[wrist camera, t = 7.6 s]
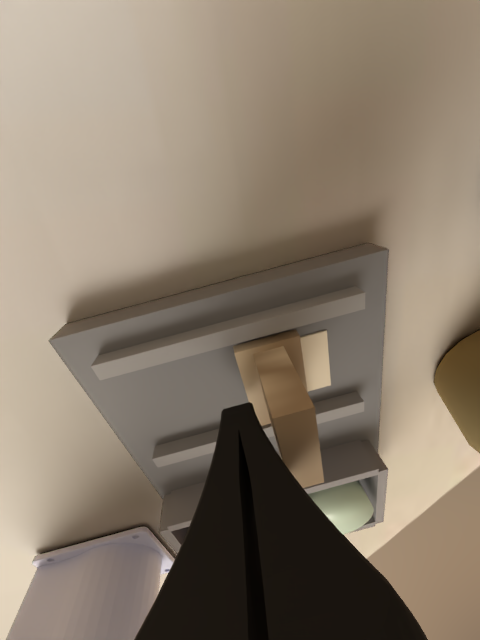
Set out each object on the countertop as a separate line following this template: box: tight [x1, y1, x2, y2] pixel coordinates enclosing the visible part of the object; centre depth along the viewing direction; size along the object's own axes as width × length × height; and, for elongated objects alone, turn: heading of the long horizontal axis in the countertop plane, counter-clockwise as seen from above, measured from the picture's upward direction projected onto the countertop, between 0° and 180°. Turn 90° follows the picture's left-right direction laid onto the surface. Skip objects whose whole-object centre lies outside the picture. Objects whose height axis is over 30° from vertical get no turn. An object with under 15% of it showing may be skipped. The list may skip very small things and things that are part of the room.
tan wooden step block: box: [233, 329, 324, 488], centre depth 11 cm, size 3×5×4 cm, turn 13°
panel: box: [49, 243, 389, 554], centre depth 16 cm, size 15×22×4 cm
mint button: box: [308, 480, 374, 535], centre depth 17 cm, size 4×4×2 cm
